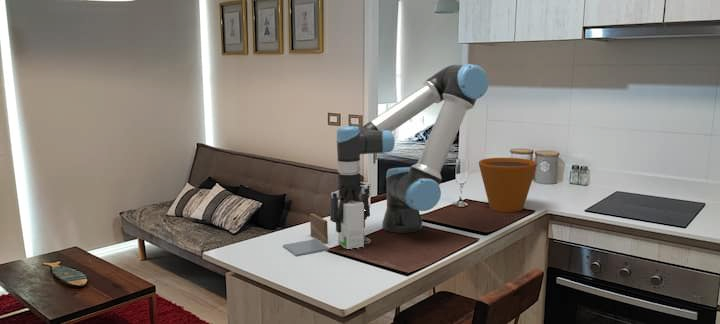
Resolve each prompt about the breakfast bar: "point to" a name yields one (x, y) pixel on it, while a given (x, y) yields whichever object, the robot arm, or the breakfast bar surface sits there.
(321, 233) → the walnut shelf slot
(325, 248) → the slate coaster
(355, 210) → the skincare box
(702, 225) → the breakfast bar surface
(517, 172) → the flower pot
